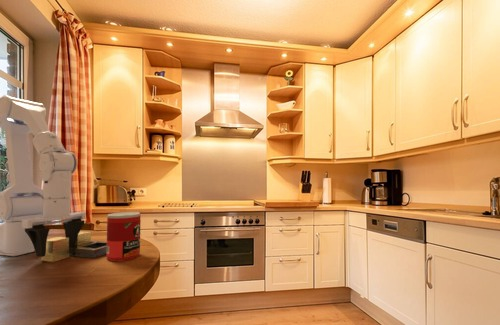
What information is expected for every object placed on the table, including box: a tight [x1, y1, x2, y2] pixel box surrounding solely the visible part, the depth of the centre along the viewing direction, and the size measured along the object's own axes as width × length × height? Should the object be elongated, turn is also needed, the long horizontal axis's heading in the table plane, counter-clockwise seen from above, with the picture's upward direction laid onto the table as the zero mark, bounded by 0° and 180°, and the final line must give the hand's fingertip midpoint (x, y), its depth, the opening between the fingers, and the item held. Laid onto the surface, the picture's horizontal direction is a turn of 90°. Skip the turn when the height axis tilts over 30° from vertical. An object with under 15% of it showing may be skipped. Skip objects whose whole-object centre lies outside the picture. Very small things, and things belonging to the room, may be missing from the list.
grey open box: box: [68, 230, 107, 259], centre depth 72 cm, size 14×8×5 cm, turn 72°
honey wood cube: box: [40, 236, 69, 263], centre depth 66 cm, size 4×4×5 cm
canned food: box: [106, 211, 142, 262], centre depth 67 cm, size 8×8×11 cm
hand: (55, 252), depth 66 cm, fingers open, 7 cm apart
